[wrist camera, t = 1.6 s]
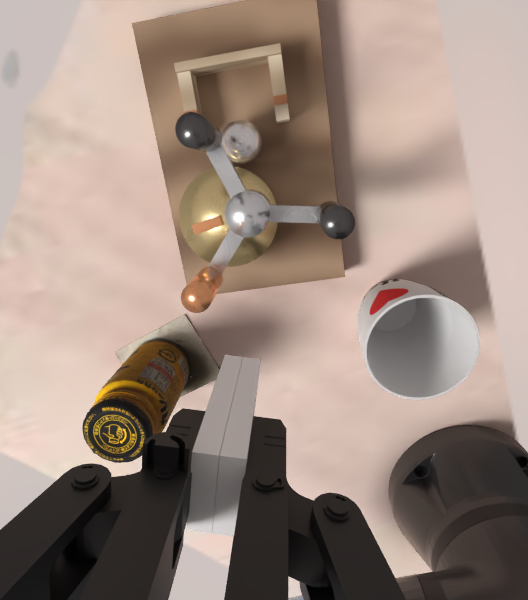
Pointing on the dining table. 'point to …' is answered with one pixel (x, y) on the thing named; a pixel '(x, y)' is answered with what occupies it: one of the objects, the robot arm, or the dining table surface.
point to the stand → (255, 108)
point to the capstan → (235, 213)
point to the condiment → (147, 390)
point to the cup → (416, 339)
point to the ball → (241, 141)
